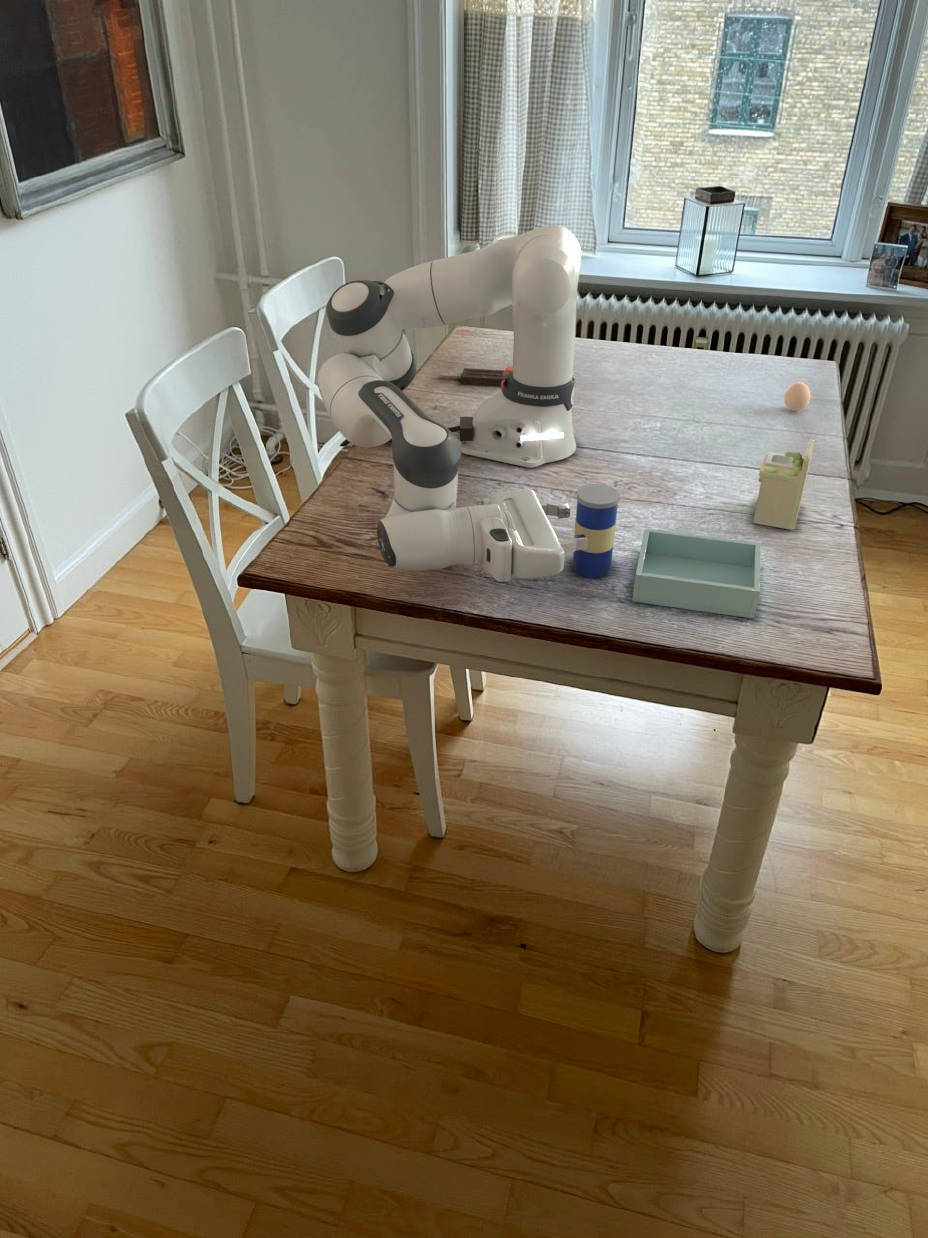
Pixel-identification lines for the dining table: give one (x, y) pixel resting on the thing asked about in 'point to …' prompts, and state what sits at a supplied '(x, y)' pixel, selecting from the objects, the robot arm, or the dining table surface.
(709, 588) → the green tray
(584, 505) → the snack tube
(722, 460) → the dining table surface
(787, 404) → the egg
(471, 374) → the ice cream bar
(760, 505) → the toy sink
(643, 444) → the dining table surface
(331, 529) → the dining table surface
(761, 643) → the dining table surface
